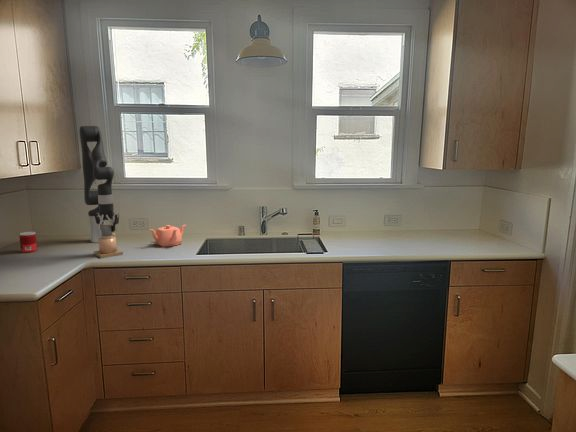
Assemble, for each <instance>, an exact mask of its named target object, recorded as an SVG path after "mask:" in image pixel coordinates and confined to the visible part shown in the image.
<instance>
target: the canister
mask: <svg viewBox="0 0 576 432" xmlns="http://www.w3.org/2000/svg"><path fill="white" fill-rule="evenodd" d="M123 254H124V253H123V251H122V250H121V249H118V248H117V237H116V236H112V235H111V236H103V237H101V238H99V242H98V250H94V251H93V255H94V256H96V257H98V258H100V259H105V258H110V257H116V256H122V255H123Z"/></svg>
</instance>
